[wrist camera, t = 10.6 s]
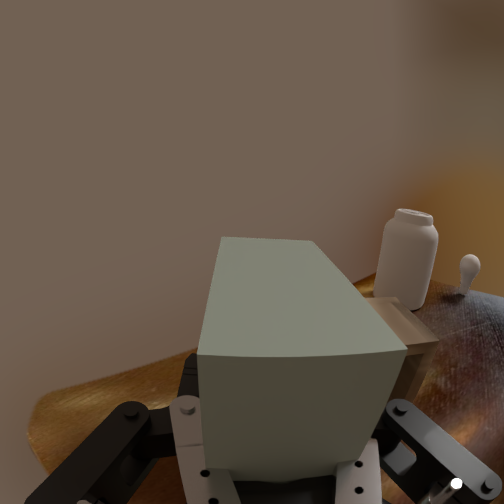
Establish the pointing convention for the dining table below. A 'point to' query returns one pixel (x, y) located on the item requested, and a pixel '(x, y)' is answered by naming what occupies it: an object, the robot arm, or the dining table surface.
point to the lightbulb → (468, 272)
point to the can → (406, 258)
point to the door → (289, 363)
